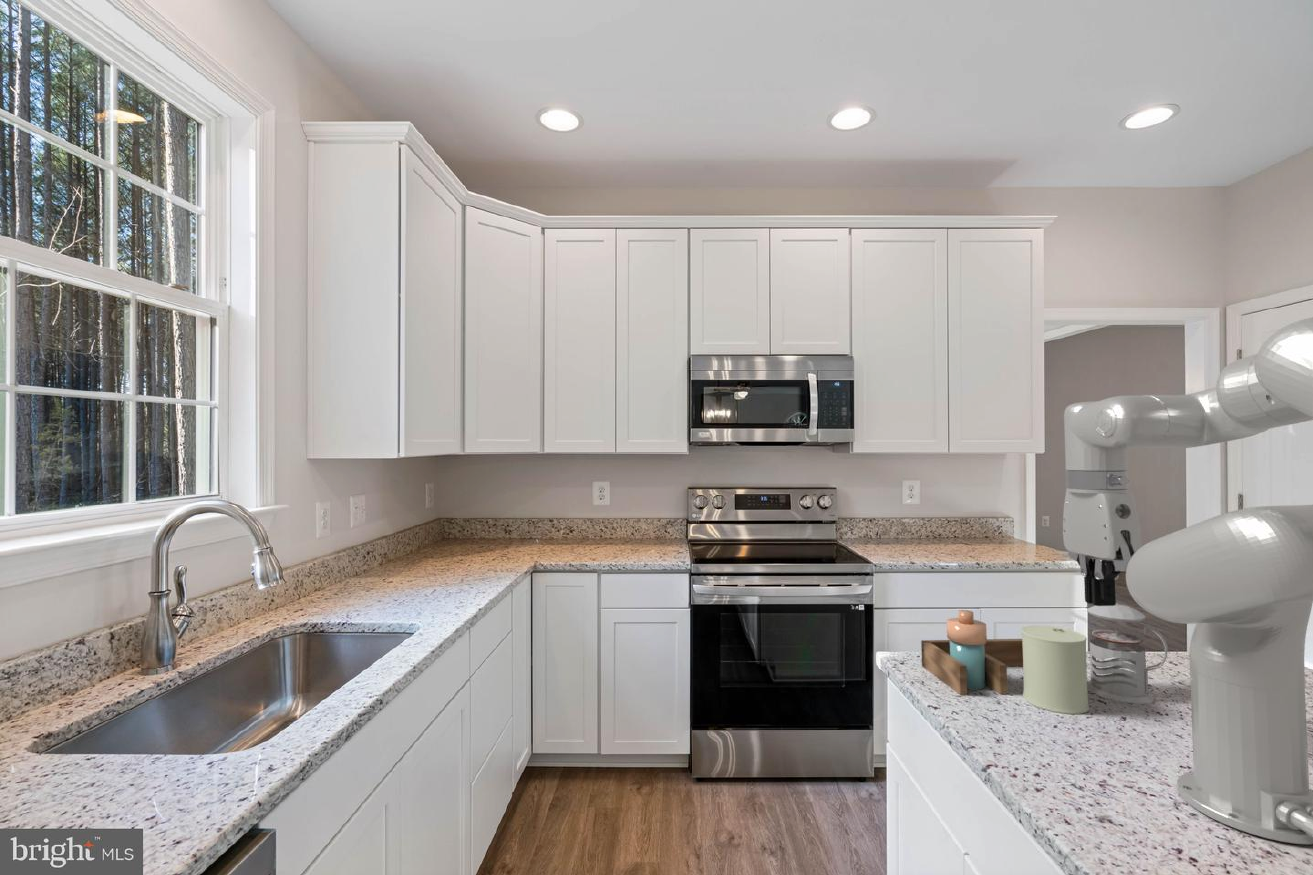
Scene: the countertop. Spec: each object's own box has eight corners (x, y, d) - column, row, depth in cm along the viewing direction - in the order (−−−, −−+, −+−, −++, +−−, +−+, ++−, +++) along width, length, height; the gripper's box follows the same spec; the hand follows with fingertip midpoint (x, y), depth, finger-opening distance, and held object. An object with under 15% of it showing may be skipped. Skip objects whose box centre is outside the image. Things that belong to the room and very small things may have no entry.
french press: (1088, 676, 109) (1084, 542, 109) (1171, 694, 100) (1166, 549, 101) (1078, 692, 102) (1074, 549, 102) (1166, 712, 93) (1161, 556, 94)
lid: (994, 644, 103) (993, 616, 103) (958, 645, 103) (958, 616, 103) (974, 633, 109) (973, 606, 110) (940, 634, 109) (939, 607, 109)
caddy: (1081, 692, 101) (1080, 663, 101) (960, 694, 101) (959, 665, 101) (1028, 663, 115) (1027, 638, 115) (921, 665, 115) (921, 640, 115)
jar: (992, 689, 103) (990, 643, 103) (961, 689, 103) (960, 644, 103) (974, 677, 109) (973, 634, 109) (944, 677, 109) (943, 634, 109)
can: (1092, 701, 98) (1090, 629, 98) (1085, 719, 91) (1082, 642, 92) (1029, 686, 104) (1027, 619, 105) (1017, 703, 97) (1015, 631, 98)
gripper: (1165, 484, 81) (1170, 617, 80) (1082, 480, 96) (1086, 592, 95) (1112, 485, 81) (1116, 618, 80) (1038, 480, 96) (1041, 592, 95)
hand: (1100, 603), depth 88 cm, fingers closed
